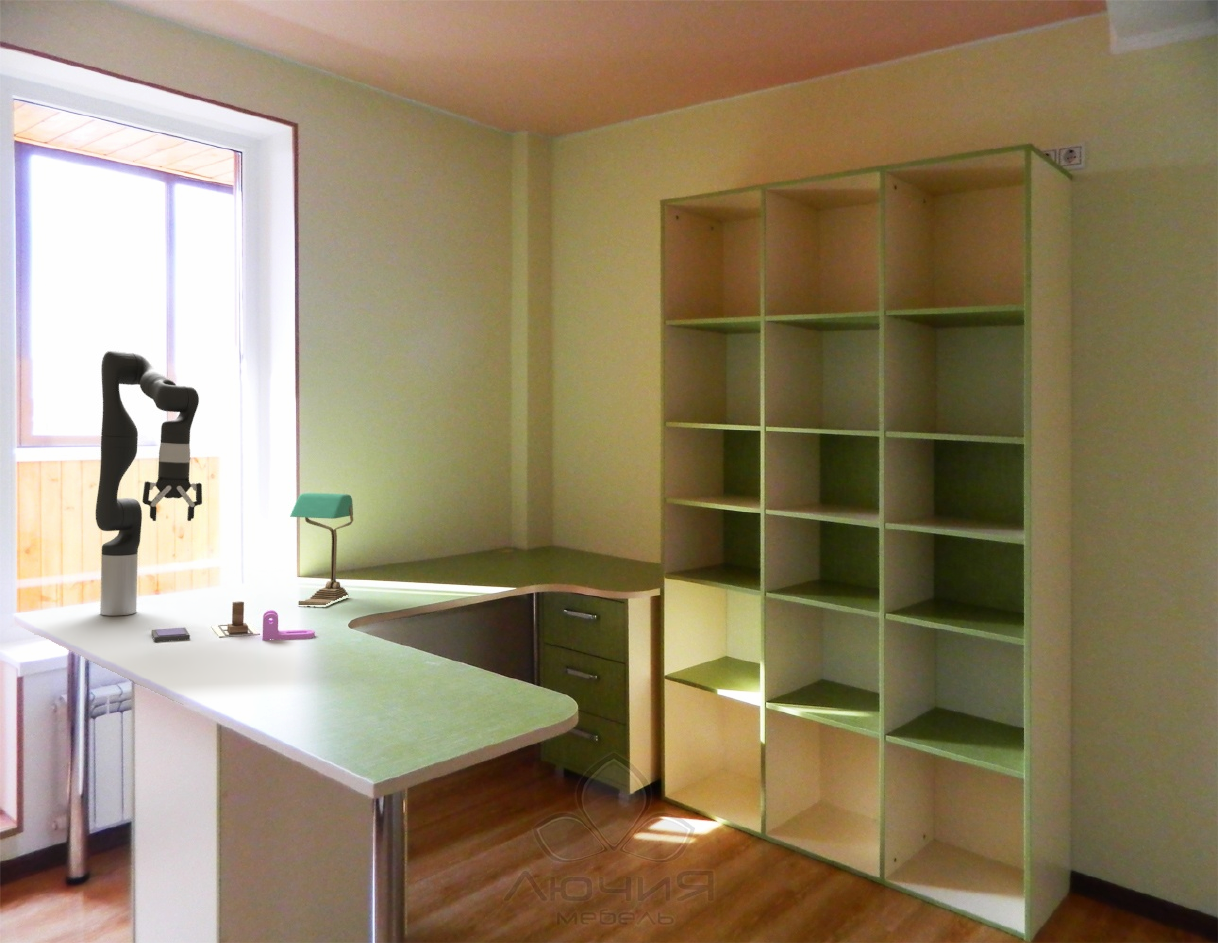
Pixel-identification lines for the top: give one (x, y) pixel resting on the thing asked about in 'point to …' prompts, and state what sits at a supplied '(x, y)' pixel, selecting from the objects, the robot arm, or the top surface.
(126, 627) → the top surface
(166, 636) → the ink pad
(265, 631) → the bracket
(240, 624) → the stamp
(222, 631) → the sheet
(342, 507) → the banker's lamp
